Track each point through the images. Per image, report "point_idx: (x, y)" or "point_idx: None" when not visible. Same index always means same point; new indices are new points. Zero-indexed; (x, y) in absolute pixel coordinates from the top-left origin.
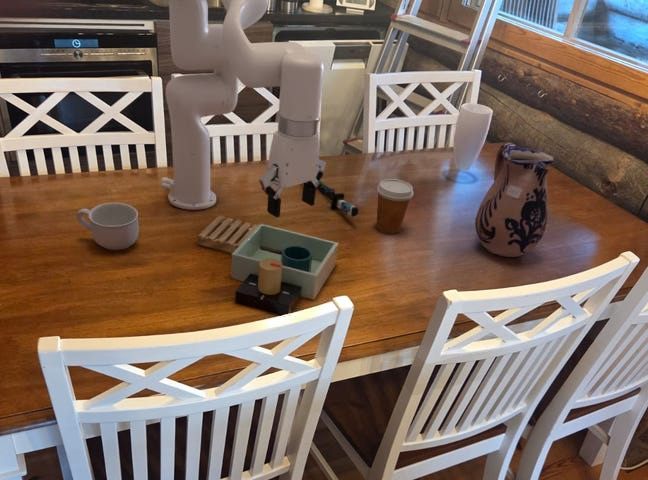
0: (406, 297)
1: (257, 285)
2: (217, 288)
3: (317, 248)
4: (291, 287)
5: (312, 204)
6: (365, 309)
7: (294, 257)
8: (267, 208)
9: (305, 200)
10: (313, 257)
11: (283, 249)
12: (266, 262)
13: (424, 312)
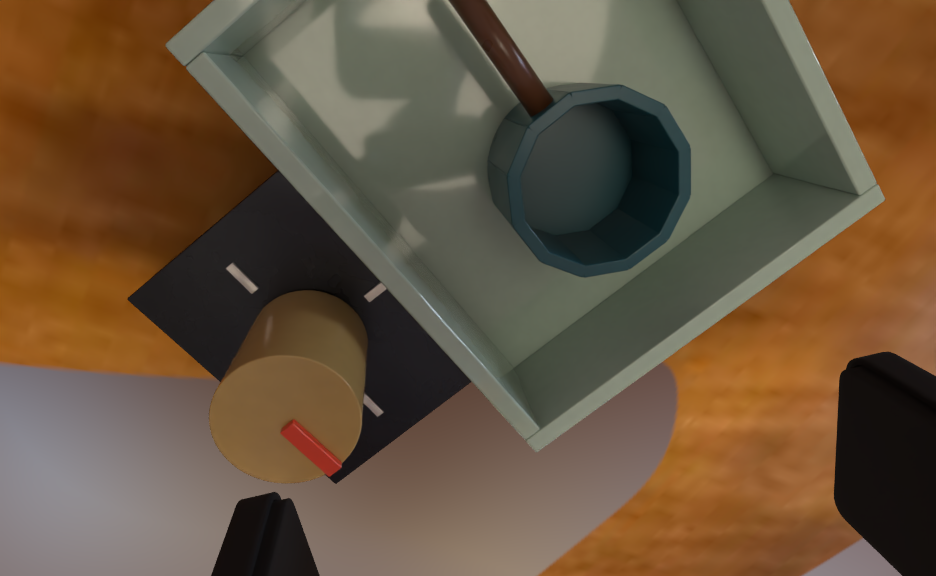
0: None
1: (265, 294)
2: (105, 118)
3: (777, 109)
4: (422, 369)
5: (856, 520)
6: (649, 496)
7: (613, 105)
8: (230, 527)
9: (859, 432)
10: (733, 91)
11: (549, 113)
12: (267, 397)
13: (811, 569)
